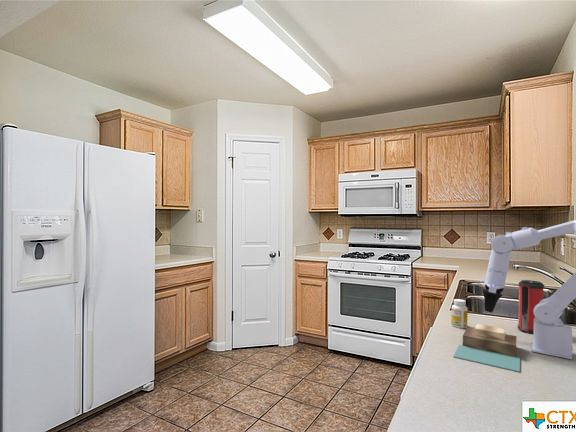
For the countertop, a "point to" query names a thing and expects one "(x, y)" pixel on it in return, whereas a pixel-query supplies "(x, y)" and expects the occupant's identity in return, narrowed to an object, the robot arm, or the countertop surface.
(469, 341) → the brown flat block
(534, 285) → the speaker
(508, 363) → the mat
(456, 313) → the supplement bottle
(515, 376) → the countertop surface
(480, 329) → the maple block
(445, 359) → the countertop surface
